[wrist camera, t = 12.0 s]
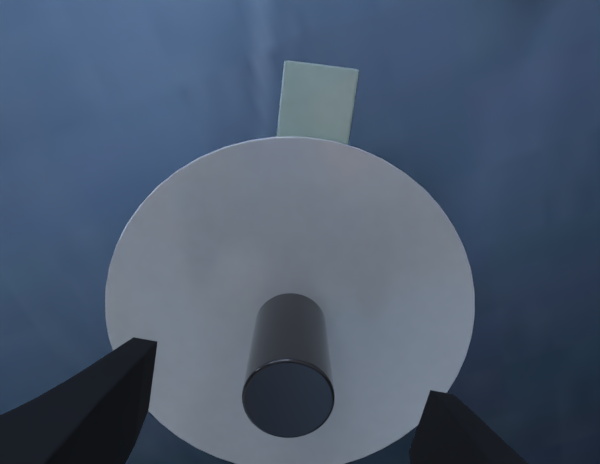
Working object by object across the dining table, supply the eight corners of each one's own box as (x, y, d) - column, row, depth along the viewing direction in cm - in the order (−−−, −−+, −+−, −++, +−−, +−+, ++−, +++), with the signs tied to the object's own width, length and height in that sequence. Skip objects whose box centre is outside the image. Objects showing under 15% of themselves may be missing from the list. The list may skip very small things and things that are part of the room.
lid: (103, 421, 18) (28, 546, 13) (135, 95, 14) (49, 95, 9) (409, 472, 18) (449, 607, 14) (513, 176, 15) (618, 215, 10)
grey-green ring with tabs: (156, 417, 22) (123, 492, 18) (168, 51, 17) (126, 37, 13) (386, 438, 23) (407, 517, 18) (461, 89, 18) (513, 87, 14)
